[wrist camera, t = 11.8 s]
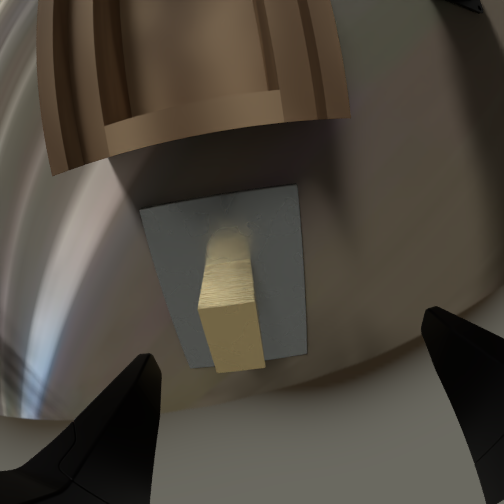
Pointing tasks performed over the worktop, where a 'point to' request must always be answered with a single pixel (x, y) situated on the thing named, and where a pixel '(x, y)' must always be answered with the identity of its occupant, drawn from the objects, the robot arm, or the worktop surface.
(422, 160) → the worktop surface
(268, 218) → the cover plate
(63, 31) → the walnut box
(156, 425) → the robot arm
